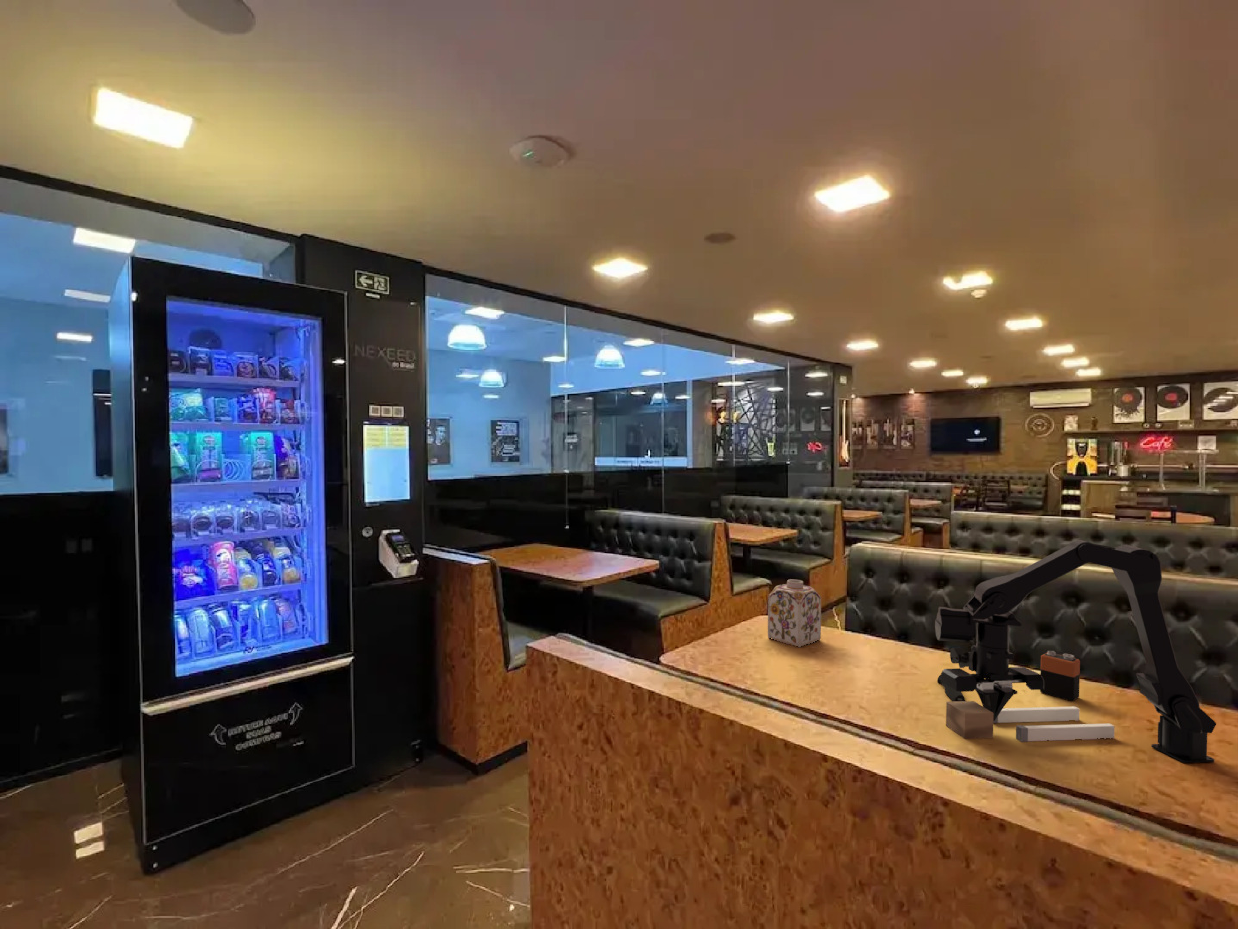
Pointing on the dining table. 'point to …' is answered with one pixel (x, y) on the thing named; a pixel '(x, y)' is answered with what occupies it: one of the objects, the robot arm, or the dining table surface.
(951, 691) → the electric trimmer
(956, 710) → the walnut block
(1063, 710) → the chute
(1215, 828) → the dining table surface
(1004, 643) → the robot arm
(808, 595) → the decorative jar
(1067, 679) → the battery
